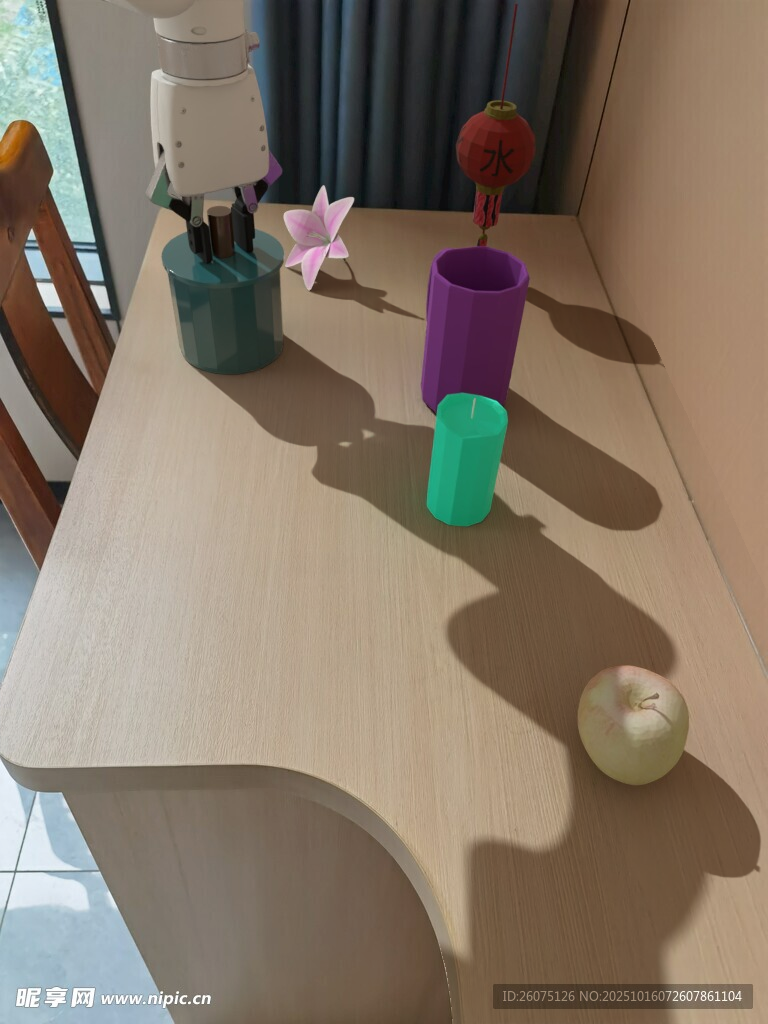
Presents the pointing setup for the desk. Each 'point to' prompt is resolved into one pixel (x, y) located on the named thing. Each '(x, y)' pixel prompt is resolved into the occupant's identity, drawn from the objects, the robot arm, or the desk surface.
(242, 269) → the lid
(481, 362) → the mug
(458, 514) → the candle
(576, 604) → the desk surface
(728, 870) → the desk surface
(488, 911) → the desk surface
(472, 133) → the lantern
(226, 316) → the teal round pot
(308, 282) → the lily
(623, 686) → the fruit
